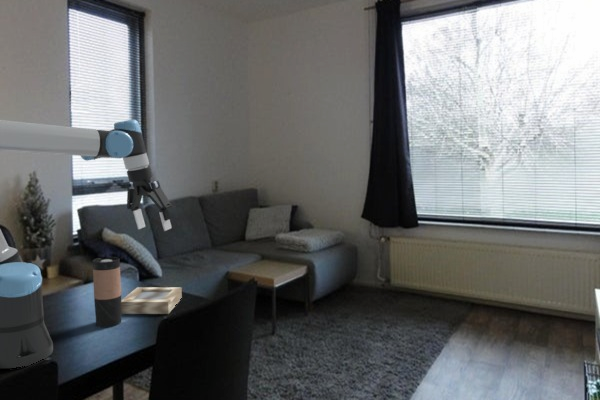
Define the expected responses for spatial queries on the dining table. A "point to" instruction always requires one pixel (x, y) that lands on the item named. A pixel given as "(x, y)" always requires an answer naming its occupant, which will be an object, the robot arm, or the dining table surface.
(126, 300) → the display stand
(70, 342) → the dining table surface
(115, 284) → the travel mug
